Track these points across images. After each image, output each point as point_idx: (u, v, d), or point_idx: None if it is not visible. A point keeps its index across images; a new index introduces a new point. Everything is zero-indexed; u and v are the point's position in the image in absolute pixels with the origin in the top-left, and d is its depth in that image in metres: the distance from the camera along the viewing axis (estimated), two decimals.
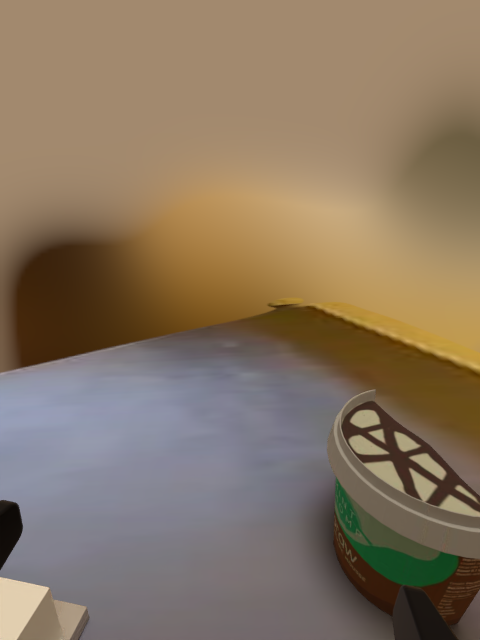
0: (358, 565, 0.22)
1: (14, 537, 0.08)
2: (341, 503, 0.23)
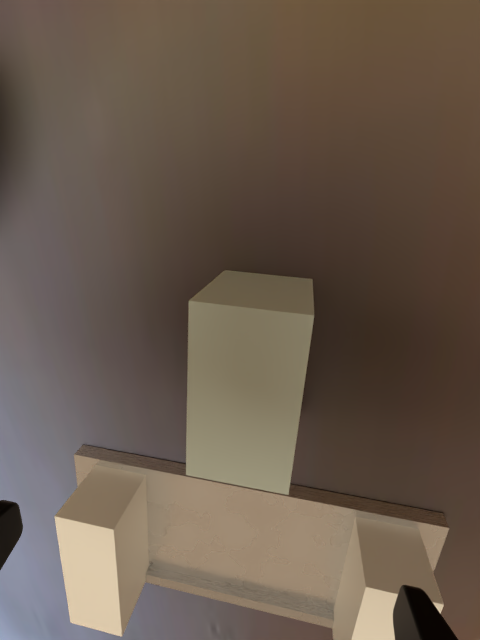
0: None
1: (14, 537, 0.08)
2: None
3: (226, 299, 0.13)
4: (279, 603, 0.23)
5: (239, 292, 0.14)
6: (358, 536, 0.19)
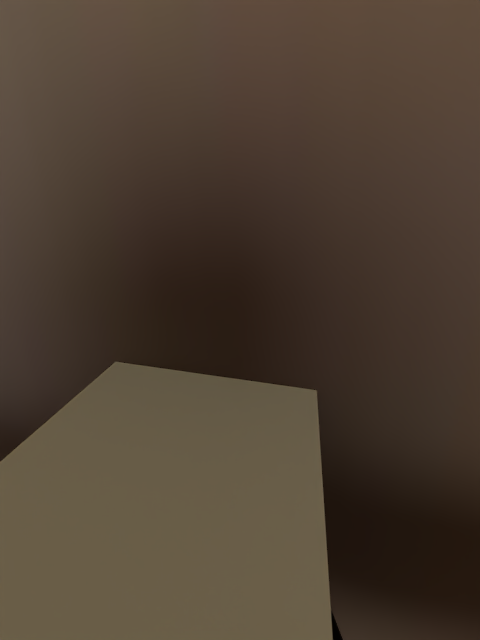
0: None
1: None
2: None
3: None
4: None
5: (55, 543, 0.04)
6: None
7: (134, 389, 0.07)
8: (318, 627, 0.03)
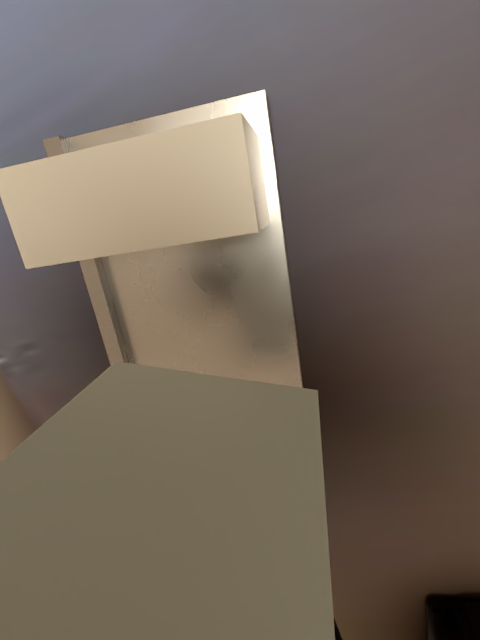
0: None
1: None
2: None
3: None
4: None
5: (54, 544, 0.04)
6: None
7: (134, 389, 0.07)
8: (320, 628, 0.03)
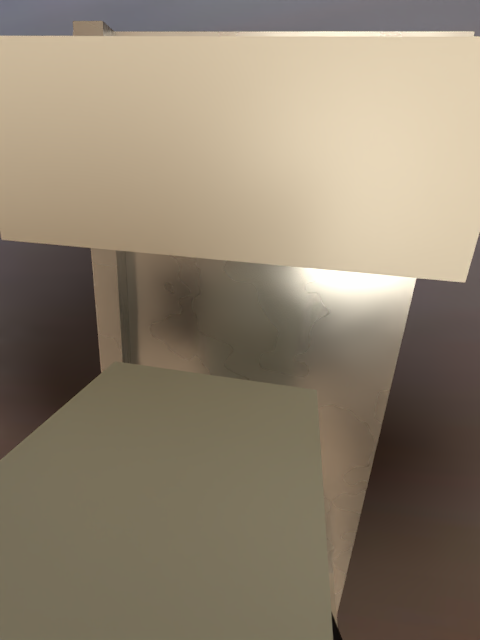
0: None
1: None
2: None
3: None
4: None
5: (52, 545, 0.04)
6: (334, 607, 0.13)
7: (133, 389, 0.07)
8: (318, 629, 0.03)
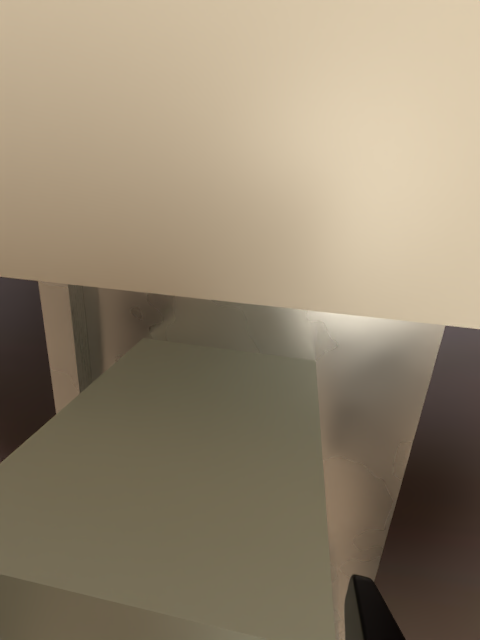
0: None
1: None
2: None
3: (53, 514, 0.04)
4: None
5: (119, 455, 0.05)
6: None
7: (162, 358, 0.08)
8: (316, 503, 0.05)
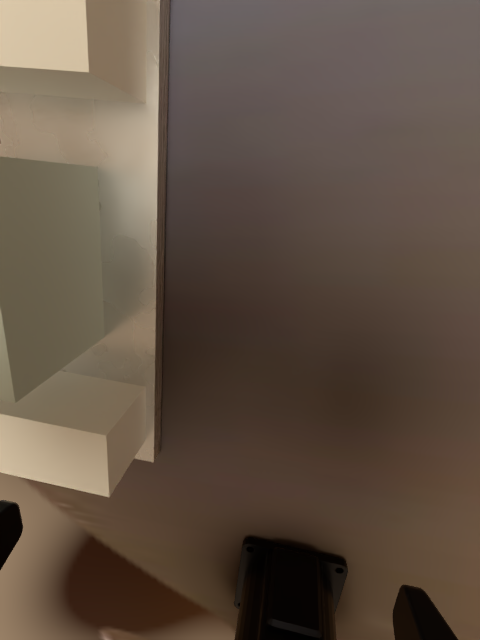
0: None
1: (14, 537, 0.08)
2: None
3: None
4: None
5: None
6: (134, 400, 0.17)
7: None
8: (17, 158, 0.11)
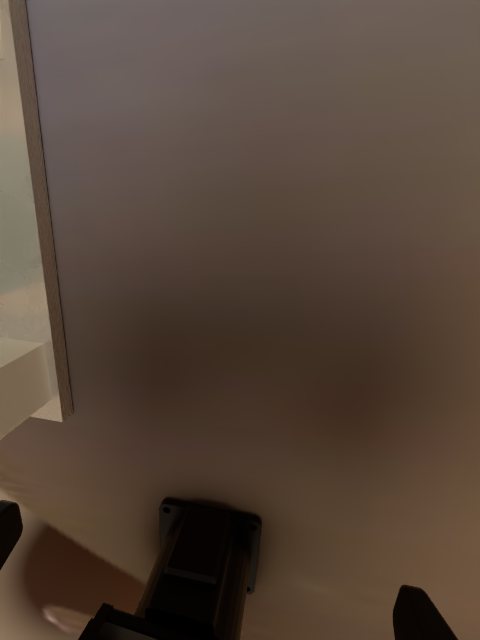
0: None
1: (14, 537, 0.08)
2: None
3: None
4: None
5: None
6: (26, 353, 0.18)
7: None
8: None
